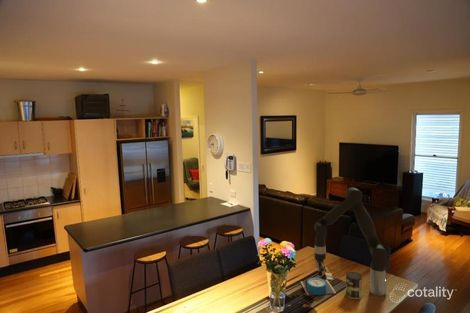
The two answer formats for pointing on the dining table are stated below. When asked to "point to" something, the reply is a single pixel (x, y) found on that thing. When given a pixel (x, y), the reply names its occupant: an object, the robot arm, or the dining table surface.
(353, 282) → the coffee can
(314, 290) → the alarm clock
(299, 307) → the dining table surface
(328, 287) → the mat
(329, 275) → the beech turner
